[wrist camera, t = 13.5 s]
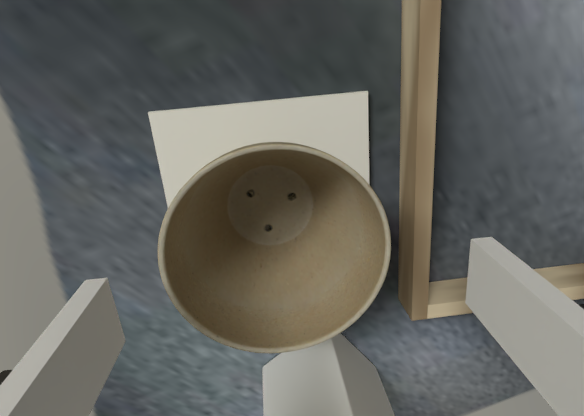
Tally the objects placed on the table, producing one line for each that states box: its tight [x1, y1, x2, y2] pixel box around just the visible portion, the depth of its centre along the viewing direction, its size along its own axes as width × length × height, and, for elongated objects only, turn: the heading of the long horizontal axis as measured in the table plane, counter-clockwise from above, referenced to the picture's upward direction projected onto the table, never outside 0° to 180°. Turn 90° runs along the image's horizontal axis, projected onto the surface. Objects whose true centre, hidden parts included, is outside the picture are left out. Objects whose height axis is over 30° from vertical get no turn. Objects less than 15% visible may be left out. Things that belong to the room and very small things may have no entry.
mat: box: [148, 91, 369, 230], centre depth 24 cm, size 12×12×1 cm
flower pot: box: [158, 142, 391, 353], centre depth 20 cm, size 10×10×7 cm
